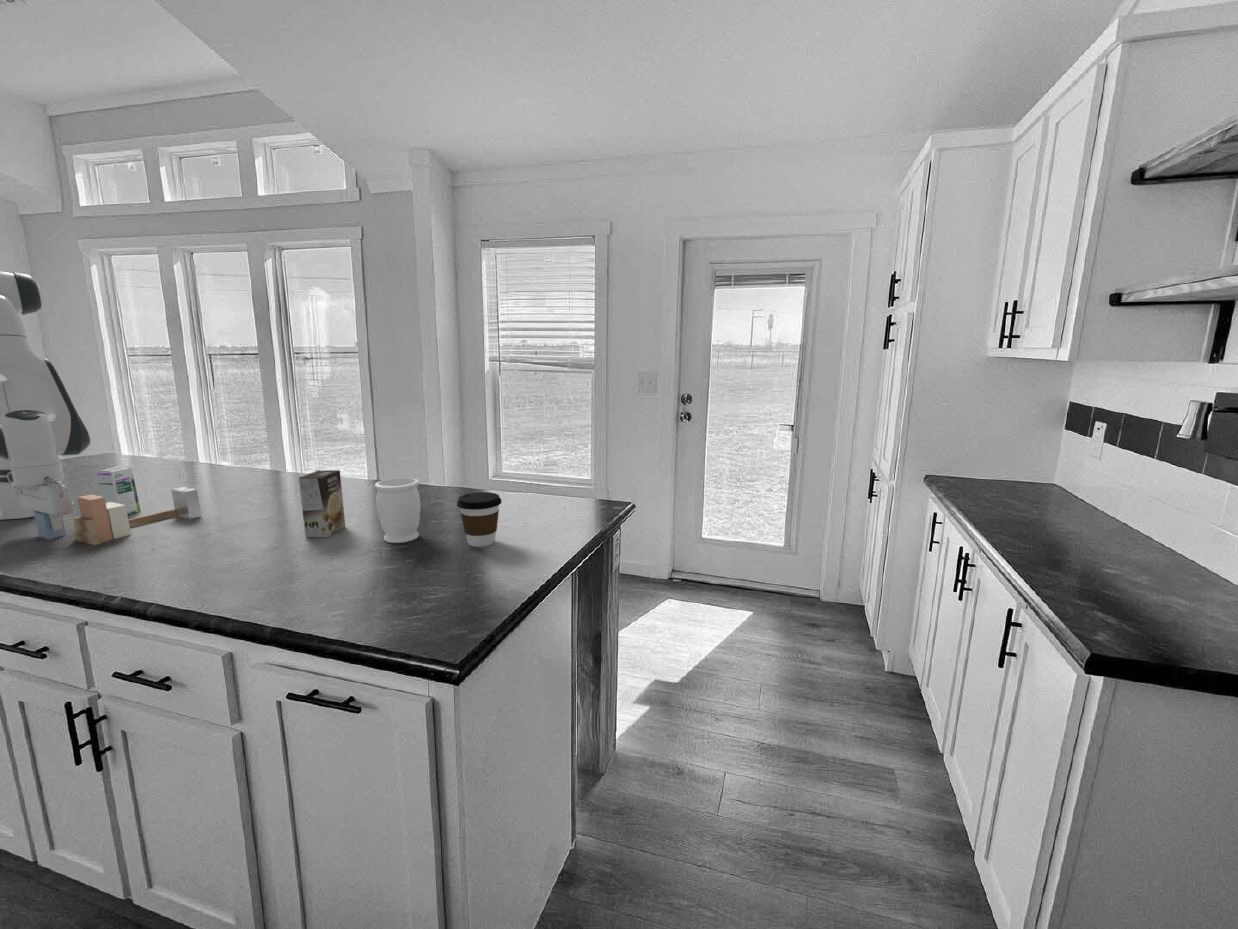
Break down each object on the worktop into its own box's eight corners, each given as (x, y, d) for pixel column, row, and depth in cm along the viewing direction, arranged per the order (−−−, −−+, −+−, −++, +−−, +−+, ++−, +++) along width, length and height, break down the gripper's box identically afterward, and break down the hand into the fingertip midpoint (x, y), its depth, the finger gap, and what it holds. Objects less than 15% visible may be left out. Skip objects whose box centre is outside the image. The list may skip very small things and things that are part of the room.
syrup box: (121, 520, 163) (112, 471, 160) (105, 519, 164) (95, 470, 161) (141, 515, 168) (132, 466, 165) (125, 513, 170) (116, 466, 167)
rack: (76, 543, 145) (70, 517, 143) (185, 516, 167) (181, 493, 165) (95, 548, 141) (89, 521, 140) (203, 520, 163) (199, 496, 162)
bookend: (176, 516, 163) (171, 489, 161) (187, 513, 166) (183, 487, 164) (189, 519, 160) (185, 491, 159) (201, 516, 163) (196, 489, 161)
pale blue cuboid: (39, 539, 147) (33, 511, 146) (56, 535, 150) (50, 508, 149) (49, 542, 145) (43, 514, 144) (66, 538, 148) (60, 511, 147)
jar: (431, 535, 151) (427, 479, 148) (401, 547, 142) (396, 489, 138) (401, 529, 155) (396, 475, 152) (370, 541, 146) (365, 484, 143)
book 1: (86, 538, 145) (77, 497, 143) (99, 535, 148) (91, 494, 145) (99, 542, 142) (90, 500, 140) (112, 539, 145) (104, 497, 143)
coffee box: (328, 538, 149) (322, 477, 145) (304, 537, 149) (297, 477, 145) (346, 526, 158) (340, 469, 154) (323, 526, 158) (317, 469, 154)
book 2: (99, 535, 148) (93, 505, 146) (116, 531, 151) (110, 501, 149) (114, 539, 145) (108, 508, 143) (131, 534, 148) (125, 505, 146)
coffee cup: (450, 547, 142) (446, 500, 139) (475, 533, 152) (472, 489, 149) (488, 552, 138) (485, 505, 135) (511, 538, 148) (509, 493, 145)
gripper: (75, 476, 143) (86, 529, 146) (36, 469, 151) (47, 519, 154) (42, 482, 137) (54, 537, 140) (3, 474, 146) (15, 526, 149)
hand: (50, 527), depth 147 cm, fingers closed on pale blue cuboid, 5 cm apart
